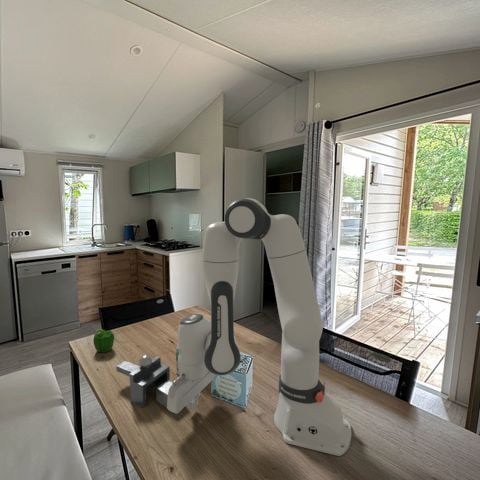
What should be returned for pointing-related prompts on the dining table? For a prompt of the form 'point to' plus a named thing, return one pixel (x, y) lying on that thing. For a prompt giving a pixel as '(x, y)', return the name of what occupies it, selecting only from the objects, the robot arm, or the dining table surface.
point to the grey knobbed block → (163, 393)
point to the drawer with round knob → (144, 377)
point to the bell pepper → (103, 340)
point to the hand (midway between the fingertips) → (193, 407)
